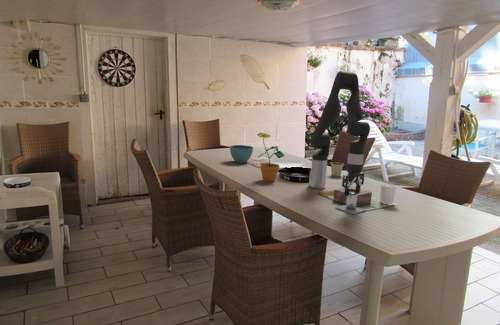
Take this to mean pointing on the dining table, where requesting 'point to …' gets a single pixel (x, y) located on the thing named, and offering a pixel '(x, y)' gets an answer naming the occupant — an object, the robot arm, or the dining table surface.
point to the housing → (361, 197)
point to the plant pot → (241, 153)
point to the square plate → (288, 163)
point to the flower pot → (336, 168)
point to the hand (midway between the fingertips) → (352, 194)
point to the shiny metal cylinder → (351, 201)
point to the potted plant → (269, 169)
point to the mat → (343, 208)
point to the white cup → (387, 193)
